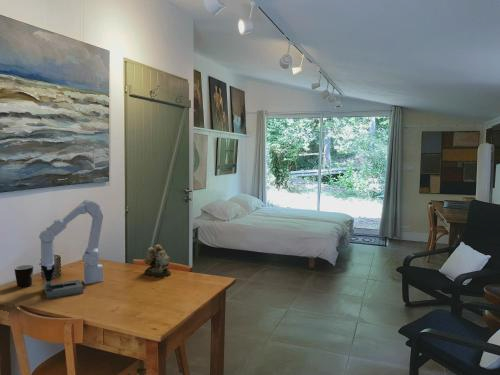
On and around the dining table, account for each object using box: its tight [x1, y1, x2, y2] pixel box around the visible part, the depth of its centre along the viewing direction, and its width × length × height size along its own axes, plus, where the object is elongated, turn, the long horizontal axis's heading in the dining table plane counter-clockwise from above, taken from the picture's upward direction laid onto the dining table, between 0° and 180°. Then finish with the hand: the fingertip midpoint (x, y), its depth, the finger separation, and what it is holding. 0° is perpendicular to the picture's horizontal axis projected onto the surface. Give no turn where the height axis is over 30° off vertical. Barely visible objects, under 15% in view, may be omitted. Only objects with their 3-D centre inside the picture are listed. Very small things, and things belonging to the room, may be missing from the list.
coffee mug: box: [14, 264, 34, 289], centre depth 204 cm, size 12×9×10 cm
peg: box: [42, 280, 52, 290], centre depth 198 cm, size 5×5×9 cm
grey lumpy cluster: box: [143, 244, 172, 278], centre depth 226 cm, size 18×12×17 cm, turn 65°
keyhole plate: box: [44, 279, 84, 300], centre depth 194 cm, size 16×12×3 cm
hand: (48, 280), depth 198 cm, fingers closed on peg, 2 cm apart
